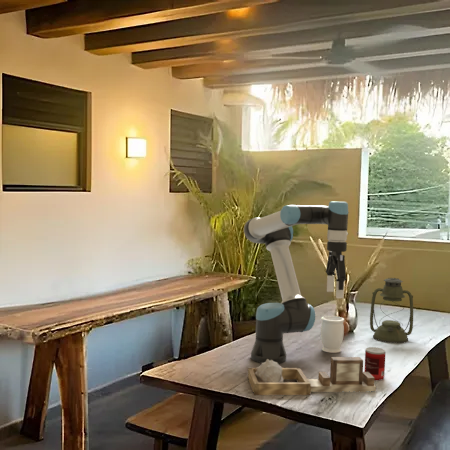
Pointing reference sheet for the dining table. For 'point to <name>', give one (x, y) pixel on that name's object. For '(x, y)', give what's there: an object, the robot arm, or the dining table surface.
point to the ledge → (326, 386)
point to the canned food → (375, 362)
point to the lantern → (389, 328)
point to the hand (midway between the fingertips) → (334, 294)
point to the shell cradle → (281, 383)
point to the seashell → (269, 372)
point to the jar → (332, 333)
